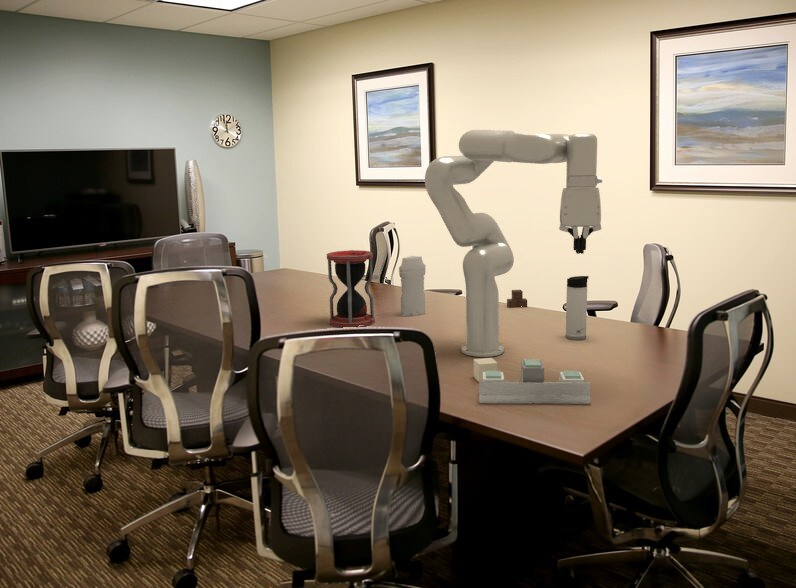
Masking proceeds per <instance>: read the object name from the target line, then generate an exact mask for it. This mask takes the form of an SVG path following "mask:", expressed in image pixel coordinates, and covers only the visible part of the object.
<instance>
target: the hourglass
mask: <svg viewBox="0 0 796 588" xmlns="http://www.w3.org/2000/svg"><path fill="white" fill-rule="evenodd" d="M373 254H374V253H373V252H372V251H369V250H355V249H349V250H339V251H332V252H331V251H330V252H328V253H326V261H327V269H328V279H329V280H328V281H329V282H330V283H331V285H332V288H333V290H332V294H331V295H330V296H329V312H330V315H329V317H330V318H329V324H330V325H331V326H332V327H336V328H342V327H356V328H359V327H358V326H359V325H364V327H367V325H368V326H372V325H373V324H374V323H375V322H376V318H375V313H374V312H375V310H374V309H375V308H374V296H373V294H372V293H371V292H370V289H369V287H370V283H371V282H372V281H373V280H372V279H373V278H374V277H373V257H374V256H373ZM367 260H368V272H369V273H368V275H369V277H368V280H367V281H366V282H365V284H364V292H365V294H367V295H368V297H369V305H370V306H369V307H370V310H369V311H370V313H367V312H368V305H367V302H366V300H365V299H364V297H363V296H362V294H360V293H359V291H357V290H356V289H355V288H356V287H357V285H359V283H360V282H361V281H362V280H363V278H364V276H365V274H366V263H365V262H367ZM332 262H333V263H334V271H335V275H336V277H337V278H338V280H339V281H340V282H341V283H342V284H343V285H344V286H345V287H346V288H347V289H346V290H345V292H344V293H343V294H342V295H341V296H340V297H339V298H338V301H337V303H336V315H334V297H335V296H336V294H337V293H338V286H337V283H336V282H335V281H334V279H333V276H332V275H333V273H332ZM372 323H373V324H372Z"/></svg>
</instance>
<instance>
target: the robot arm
mask: <svg viewBox="0 0 796 588" xmlns="http://www.w3.org/2000/svg"><path fill="white" fill-rule="evenodd" d="M597 137H598V136H597V135H595V134H593V133H577V134H576V133H575V134H563V133H517V132H514V131H513V130H500V129H499V130H495V129H493V130H492V129H472V130H469V131H466V132H465V133H463V134H462V135H461V137H460V138H459V141H458V149H459V152H460V153H461V155H447V156H440V157H438V158H435V159H433V160H432V161H431V162H430V163H429V164H428V166H427V168H426V171H425V175H424V185H425V189H426V192H427V195H428V197H429V199H430V201H431V202H432V203H433V204H434V206H435V208H436V210H437V211H438V213H439V215H440V217H441V219H442V221H443V223H444V226H446V229H447V231H448V233H449V235H450V236H451V238H452V239H453V241H454V243H455V244H456V245H457V246H459V247H460V248H461V247H462V248H465V247H466V248H467V247H473V246H476V247H474V248H472V249H470V250H468V251H467V253H466V254H465V255H464V258H463V261H462V271H463V277H464V282H465V297H466V298H465V303H466V305H465V306H466V309H465V314H466V316H465V317H466V326H465V327H466V344H465V345H464V344H463V345H462V346H461V352H462V354H464V355H466V356H470V357H477V358H492V357H497V356H500V355H502V354H503V353H504V352H505V348H504V346H503V345H501V344H499V343H500V342H499V339H500V337H499V334H500V331H499V330H500V324H499V321H500V315H499V313H500V312H499V311H500V309H499V308H500V307H499V306H500V301H499V299H500V297H499V289H498V288H499V287H498V284H497V281H496V279H495V277H497V276H501V275H504V274H506V273H508V272H510V270H511V269H512V268H513V266H514V260H515V258H514V253H513V251H512V249H511V246H510V245H509V243H508V241H507V239H506V237H505V235H504V234H503V231H502V229H501V227H500V226H499V224H498V222H497V221H496V220H495V218H493V217H492V216H491V215H489V214H488V213H486V212H473V211H472V209H470V207H469V205H468V203H467V201H466V199H465V198H464V196H463V195H462V194H461V193H460V192H459V191H458V190H456V189H455V187H454V185H455V186H456V185H457V186H458V185H467V184H470V183H472V182H474V181H475V180H477V179H479V177H480V176H481V175H482V174H483V173H484V172H485V171H486V170H487V169H488V168H489V167H490V166H491V165H492V164H493V163H494V162H499V163H500V162H503V163H512V162H513V163H520V164H522V163H524V164H536V165H537V164H540V165H545V164H546V165H547V164H560V163H561V164H562V163H566V184H565V185H566V187H563V188H562V191H561V198H560V209H559V222H560V224H559V228H558V229H559V231H561V232H565V233H569V235H571V236H572V237H573V251H575V253H576V254H577V255H578V254H579V255H580V254H582V255H583V254H585V253H584V252H585V251H586V250H587V238H588V237H589V236H590V235H591V234H593V232H597V231H598V232H599V231H601V230H602V225H601V224H602V223H601V221H602V206H601V195H600V189H599V187H597V185H598V184H602V183H603V177H598V175H597V165H598V164H597V162H598V160H597V159H598V138H597ZM578 227H580V228H581V227H582V228H581V229H582V230H581V234H580V235H579V231H578V230H579V229H578Z"/></svg>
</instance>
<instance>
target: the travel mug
mask: <svg viewBox="0 0 796 588" xmlns="http://www.w3.org/2000/svg"><path fill="white" fill-rule="evenodd" d="M566 279H567V280H566V303H565V305H566V310H565V312H566V313H565V338H567V339H568V340H571V341H572V340H573V341H583V340H585V339H586V338H587V317H588V315H587V313H588V312H587V309H588V308H587V307H588V306H587V305H588V279H589V275H577V276H570V277H569V278H566Z"/></svg>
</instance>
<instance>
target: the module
mask: <svg viewBox="0 0 796 588" xmlns="http://www.w3.org/2000/svg"><path fill="white" fill-rule="evenodd" d="M520 382H545V366H544V364H543V360H542V359H539V358H532V359H531V358H524V359H521V360H520Z"/></svg>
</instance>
